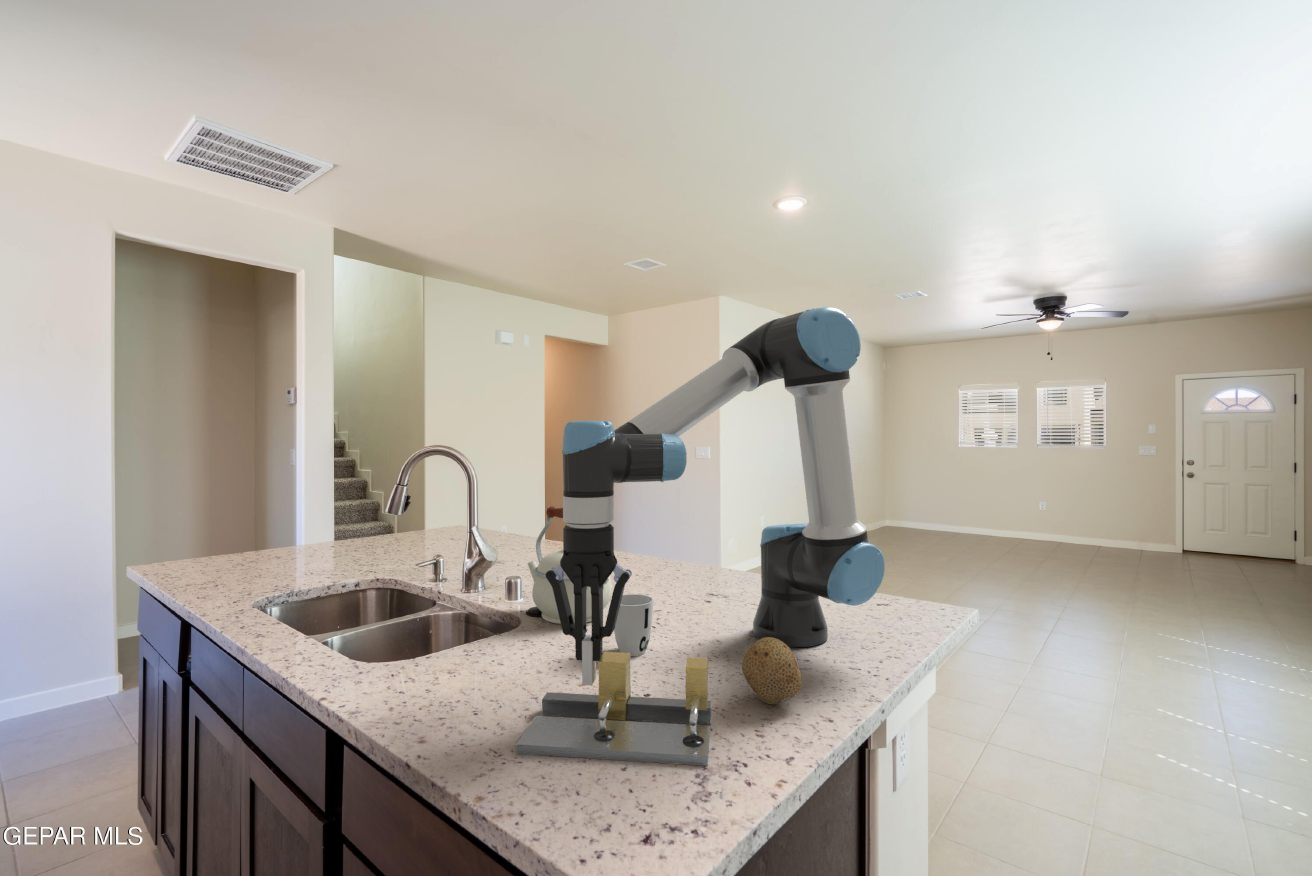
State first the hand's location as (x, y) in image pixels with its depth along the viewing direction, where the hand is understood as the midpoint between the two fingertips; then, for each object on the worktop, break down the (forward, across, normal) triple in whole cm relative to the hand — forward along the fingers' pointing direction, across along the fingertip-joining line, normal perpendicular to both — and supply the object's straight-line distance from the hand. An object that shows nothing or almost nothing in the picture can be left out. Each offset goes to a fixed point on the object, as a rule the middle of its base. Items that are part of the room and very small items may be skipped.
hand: (589, 681), depth 90 cm
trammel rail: (+5, -6, +4) cm, 8 cm away
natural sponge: (+5, -27, -8) cm, 29 cm away
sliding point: (+4, -4, +3) cm, 7 cm away
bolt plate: (+5, -6, +8) cm, 11 cm away
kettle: (+5, +17, -48) cm, 52 cm away
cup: (+5, -2, -26) cm, 27 cm away
